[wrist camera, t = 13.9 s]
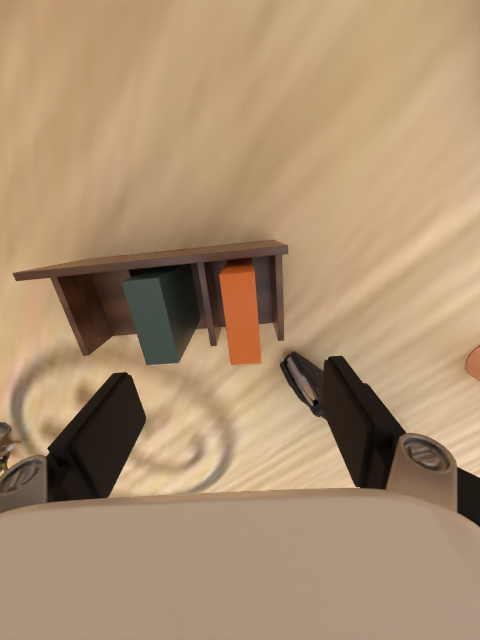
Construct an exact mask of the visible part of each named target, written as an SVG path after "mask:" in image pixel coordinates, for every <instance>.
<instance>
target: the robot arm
mask: <svg viewBox="0 0 480 640" xmlns="http://www.w3.org/2000/svg"><path fill="white" fill-rule="evenodd" d="M322 409H323V412H324V415H325V417H326V419H327V422H328V424H329V426H330V429H331V431H332V433H333V436H334V438H335V440H336V443H337V445H338V447H339V450H340V452H341V454H342V457H343V459H344V461H345V464H346V466H347V468H348V471H349V473H350V475H351V478H352V480H353V482H354V484H355V486H356V487H360V488H324V489H291V490H267V491H243V492H221V493H200V494H179V495H158V496H140V497H121V498H108V497H109V495H110V493H111V491H112V489H113V487H114V485H115V483H116V481H117V479H118V477H119V475H120V473H121V471H122V469H123V467H124V465H125V463H126V461H127V459H128V457H129V455H130V453H131V451H132V449H133V447H134V445H135V443H136V441H137V439H138V436H139V434H140V432H141V430H142V428H143V426H144V424H145V421H146V415H145V413H144V410H143V407H142V404H141V401H140V398H139V396H138V393H137V390H136V387H135V384H134V381H133V379H132V376H131V375H128V373H126V372H123V373H114V374H112V375H111V376H110V377H109V378H108V380H107V381H106V382H105V383H104V384H103V385H102V386H101V388H100V389H99V390H98V391H97V392H96V393H95V394H94V396H93V397H92V398H91V399H90V400H89V401H88V402H87V404H86V405H85V406H84V407H83V408H82V409H81V410H80V412H79V413H78V414H77V415H76V416H75V417H74V418H73V420H72V421H71V422H70V423H69V424H68V425H67V426H66V428H65V429H64V430H63V431H62V432H61V433H60V434H59V436H58V437H57V438H56V439H55V440H54V441H53V443H52V444H51V445H50V446H49V447H48V448H47V449H48V450H49V452H50V453H49V454H48V455H47V456H46V457H45V456H43V455H35V456H31V457H28V458H26V459H23V460H21V461H20V462H18V463H16V464H15V465H13V466H12V467H11V468H9V469H8V470H7V471H6V472H4V473H3V474H2V475H1V476H0V640H480V478H479V477H477V476H475V475H473V474H471V473H469V472H466V471H464V470H462V469H460V468H458V467H457V464H456V460H455V459H454V457H453V456H452V454H451V453H450V452H449V451H448V450H447V449H446V448H445V447H444V446H443V445H441V444H440V443H438V442H437V441H435V440H433V439H431V438H429V437H427V436H424V435H421V434H415V433H408V434H407V433H406V432H405V431H404V429H403V428H402V427H401V426H400V424H399V423H398V422H397V421H396V419H395V418H394V417H393V415H392V414H391V413H390V412H389V410H388V409H387V408H386V406H385V405H384V404H383V403H382V401H381V400H380V399H379V398H378V396H377V395H376V394H375V392H374V391H373V390H372V389H371V387H370V386H369V385H368V384H366V383H362V381H361V380H360V379H359V377H358V376H357V375H356V373H355V372H354V371H353V369H352V368H351V367H350V365H349V364H348V363H347V361H346V360H345V359H344V357H343V356H332V357H329V358H328V360H325V361H324V375H323V392H322Z"/></svg>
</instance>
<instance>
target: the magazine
mask: <svg viewBox="0 0 480 640" xmlns="http://www.w3.org/2000/svg"><path fill="white" fill-rule="evenodd" d="M280 367H281V369H282V371H283V373H284V375H285V377H286V379H287V381H288V383H289V385H290V386H291V387H292V389H293V390H294V392H295V393H296V395H297V396H298V398H299V399H301V401H302V402H304V403H305V404H307V405H308V406H309V407H310V409H311V411H312V413H313V414H314V415H315V416H317V417H320V416H321V417H323V418H324V419H326V417H325V415H324V412H323V409H322V392H323V375H324V372H323V371H322V370H320V369H319V368H318V367H316V366H315V365H313V364H312V363H311V362H309V361H308V360H307V359H305V358H303V357H302V356H300V355H299V354H297V353H295V352H292V353H291V354H289V355H288V356H287V357H286V358H285V359H284V362H281V363H280ZM326 420H327V419H326Z"/></svg>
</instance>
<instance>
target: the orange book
mask: <svg viewBox="0 0 480 640" xmlns="http://www.w3.org/2000/svg"><path fill="white" fill-rule="evenodd" d="M219 278H220V286H221V293H222V301H223V308H224V316H225V323H226V330H227V338H228V345H229V353H230V360H231V365H233V366H239V365H254V364H259V363H261V351H260V337H259V324H258V310H257V296H256V283H255V271H254V266H253V261H252V258H243V259H233V260H228V261H227V263H226V264H225V266H224V268H223V269H222V271H221V273H220V275H219Z"/></svg>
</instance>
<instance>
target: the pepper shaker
mask: <svg viewBox="0 0 480 640" xmlns="http://www.w3.org/2000/svg"><path fill="white" fill-rule="evenodd" d="M466 369H467V371H468V373H469V374H470V375H472V376H473V377H475V378H476V379H478V380H479V381H480V346H479V347H478V348H477V349H475V350H474V351H473V352H472V354H471V355H470V356H469V358H468V360H467V362H466Z"/></svg>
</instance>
